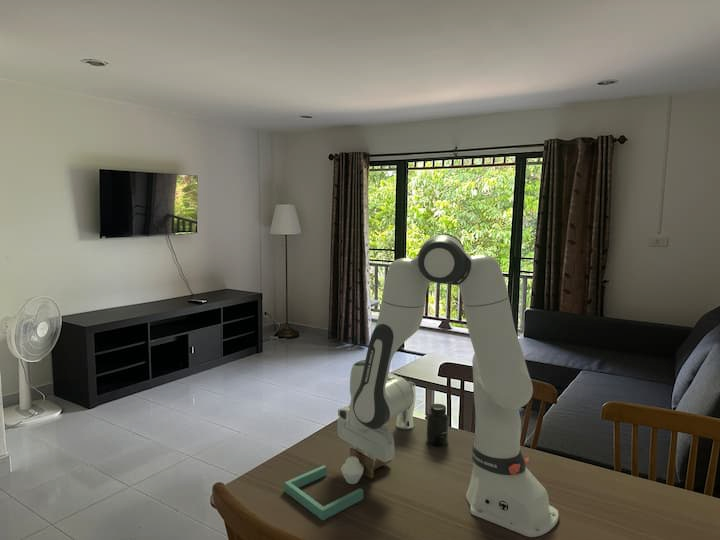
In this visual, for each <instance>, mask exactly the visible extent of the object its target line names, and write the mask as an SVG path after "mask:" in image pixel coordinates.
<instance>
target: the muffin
mask: <svg viewBox="0 0 720 540" xmlns="http://www.w3.org/2000/svg"><path fill="white" fill-rule="evenodd" d="M340 469H341V470H340V471H341V473H342V476H343V477H344V479H345V481H346V483H348V484H350V485H355V484H357V483H358V482H359V481H360V479H361V478H362V477H363V475H364V474H363V471H364V467H363V465H362V464H361V463H360V462H359V459H358V458H357V457H354V456H352V457H350V456H348V457H347V458H346V460H345V463H343V464H342V465H341V468H340Z"/></svg>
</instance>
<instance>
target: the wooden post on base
mask: <svg viewBox="0 0 720 540" xmlns="http://www.w3.org/2000/svg"><path fill="white" fill-rule="evenodd" d="M361 452H362V451H361ZM361 452H359V451H357V450H356V449H353V447H351V448H349V457H352V456H354V457H357V458H358V459H359V462H360V463H361V464H362V465H363V467H364V471H363V474H362V475H366V476H367V477H368V478H370V479H372V478H374V471H375V469H377V468H379V467H382V466H384V465H386V464H389V463H391V462H392V459H391V460H389V461H387V462H382V461H381V460H379V459H377V458H376V460H375V461H374V460H373V459H371V458H370V457H369V454H368V453H366V452H364V453H363V452H362V453H361Z"/></svg>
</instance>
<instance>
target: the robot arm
mask: <svg viewBox="0 0 720 540" xmlns="http://www.w3.org/2000/svg"><path fill="white" fill-rule="evenodd" d="M432 282H433V283H436V284H443V285H452V286H453V285H454V286H458V289H459V292H460V296H461V301H462V307H463V311H464V316H465V317H464V318H465V321H466V325H467V330H468V335H469V338H470V341H471V344H472V347H473V348H472V349H473V351H474V354H473V356H472V381H473V382H472V383H473V399H474V400H473V402H474V409H475V410H474V412H475V420H474V421H475V424H474V425H475V426H474V442H473V444H472V455H471V459H472V462H473V463H472V471H471V476H470V481H469V486H468V488H467V491H466V494H465V498H466V501H467V502H468V504H469V506H470V513H471V515H472V516H476V517H477V518H480V519H483V520H485V521H487V522H490V523H493V524H494V525H495V524H496V525H498V526H500V527H503V528H506V529H507V530H510V531H512V532H516V533H518V534H520V535H522V536H525V537H528V538H536V537H540V536H543V535H544V534H545V535H546V534H547V533H548V532H550V531H551V530H552V529H553V528H554V527H556V525H557V523H558V522H559V510H558V509H557V508H555V507H554V506H553V505H550V501H549V500H550V499H549V495H548V491H547V489H546V488H545V487H544V486H543V484H541V482H539V480H538V479H537V478H536V476H535V475H533V473H532V472H531V471H530V470H529V469H528V468H527V467H526V466H527V465H526V464H528V462H529V461H530V460H529V459H530V456H527V457H526V458H524V456H523V453H522V451H521V432H522V431H521V429H522V419H521V416H520V409H521V408H523V407H525V406H526V405H527V404H528V403H529V402H530V400H531V399H532V396H533V393H534V386H533V382H532V379H531V377H530V376H531V375H530V373H529V369H528V366H527V363H526V360H525V356H524V352H523V349H522V346H521V343H520V340H519V336H518V335H517V330H516V326H515V323H514V318H513V311H512V307H511V302H510V301H511V300H510V297H509V292H508V287H507V285H506V280H505V278H504V274H503V272H502V269H501V266H500V264H499V262H498V260H497V259H496V258H494V257H493V256H490V255H486V254H476V255H471V254H469V253H467V252H466V250H465V249H464V246H463V243H462V242H461V241H460V240H459V238H457V237H456V236H454V235H452V234H450V233H438V234H435V235H433V236H430V237H429V238H428V239H426V241H425V242H424V243H423V244H422V246H421V247H420V249H419V251H418V253H417V254H416V257H400V258H398V259H395V260H393V261H392V262H391V263H390V265H389V266H388V269H387V273H386V276H385V280H384V284H383V288H382V295H381V304H380V308H379V313H378V317H377V321H376V323H375V327H374V329H373V331H372V334H371V336H370V340H369V344H368V347H367V351H366V357H365V359H363V360H360V361H357V362H355V363H354V364H353V365H352V366H351V370H350V377H349V395H350V403H349V405H346V406H344V407H341V408H339V409H338V410H337V415H338V418H337V435H338V436H339V438H340V439H341V440H343V441H345V442H347V443H349V444H351V445H352V448H353V449H356V450H357V451H359V452H361V453H363V452H364V453H365V452H366V453H368V454H369V457H370V458H371V459H373V460H374V461H375V460H376V458H377V459H379V460H381V461H382V462H387V461H389V460H391V461H392V460H393V459H394V458H395V452H396V450H395V440H394V436H393V433H392V431H391V430H390V427H388V426H386V425H385V424H387V423H388V422H389V421H391V420H392V419H393V418H396V417H397V415H399V414H400V413H402V412H403V411H405V410H406V409H408V408H409V407H410V406H411V405H412V403H413V398H414V395H413V390H412V387H411V385H410V384H409V382H408V381H409V380H407V379H405V378H404V377H402V376H399V375H396V374H394V373H392V372H391V371H390V368H391V367H390V366H391V363H392V360H393V357H394V356H395V354H396V352H397V351H398V350H399V348H400V347H401V346H403V344H404V343H405V342H406V341H408V340H409V339H410V338H411V337H412V336H413V335H414V334H415V333H417V332H418V330H419V329H420V327H421V324H422V321H423V319H424V318H423V317H424V314H425V306H426V298H427V291H428V288H429V286H430V284H431V283H432Z"/></svg>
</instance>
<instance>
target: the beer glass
mask: <svg viewBox="0 0 720 540" xmlns="http://www.w3.org/2000/svg"><path fill="white" fill-rule="evenodd" d="M407 381H408V382H409V384H410V385H411V387H412V390H413V395H414V398H413V403H412V405H411V406H410V407H409V408H408V409H406V410H405V411H403V412H402V413H400V414H399V415H397V416H396V417H397V418H396V424H395V426H396V427H397V428H398V429H401V430H406V431H407V430H412V429H413V428H414V426H415V423H414V417H413V416H414V410H415V409H414V408H415V405H416V397H417V396H416V395H417V394H416V393H417V392H416V390H417V389H416V383H415V382H413V381H410V380H407Z"/></svg>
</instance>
